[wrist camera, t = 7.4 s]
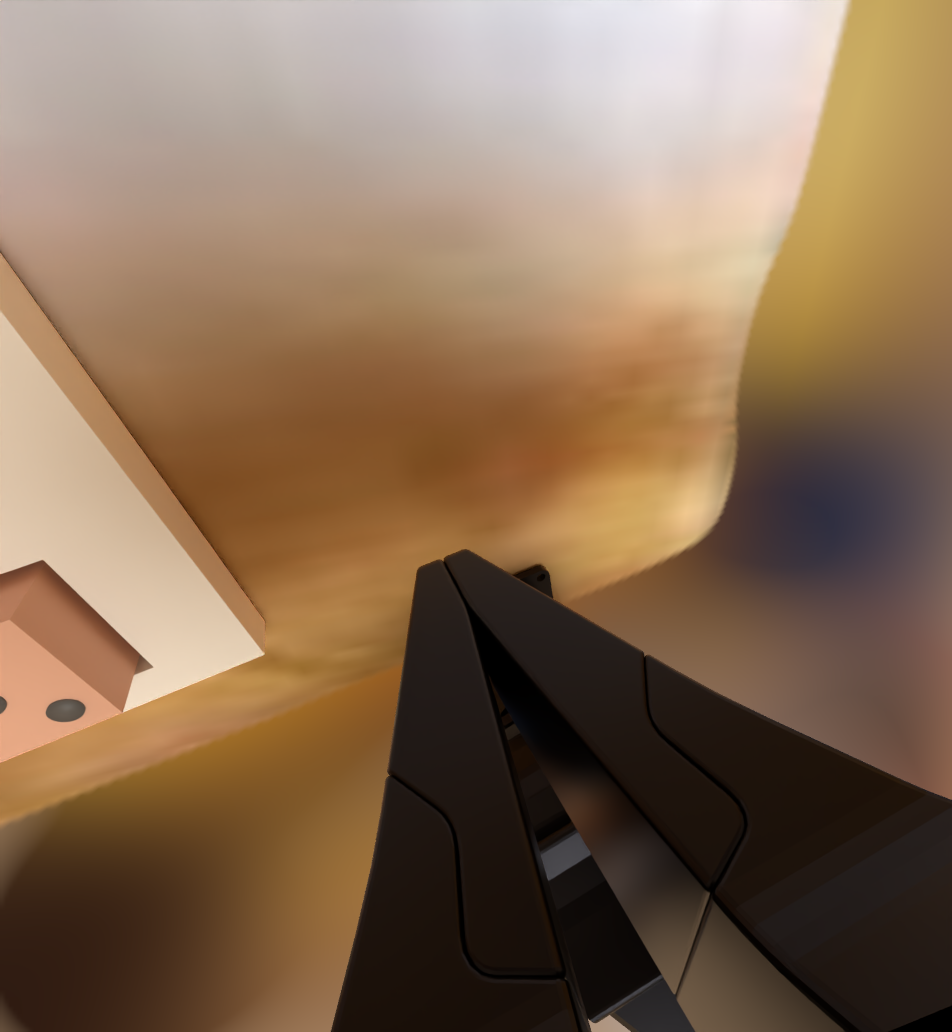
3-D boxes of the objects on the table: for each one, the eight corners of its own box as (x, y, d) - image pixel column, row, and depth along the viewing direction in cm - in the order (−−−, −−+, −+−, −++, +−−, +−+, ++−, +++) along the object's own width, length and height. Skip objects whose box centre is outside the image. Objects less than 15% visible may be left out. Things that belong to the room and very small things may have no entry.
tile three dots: (146, 631, 19) (122, 715, 16) (16, 681, 19) (-37, 780, 15) (59, 540, 16) (8, 621, 13) (-101, 595, 16) (-198, 696, 12)
